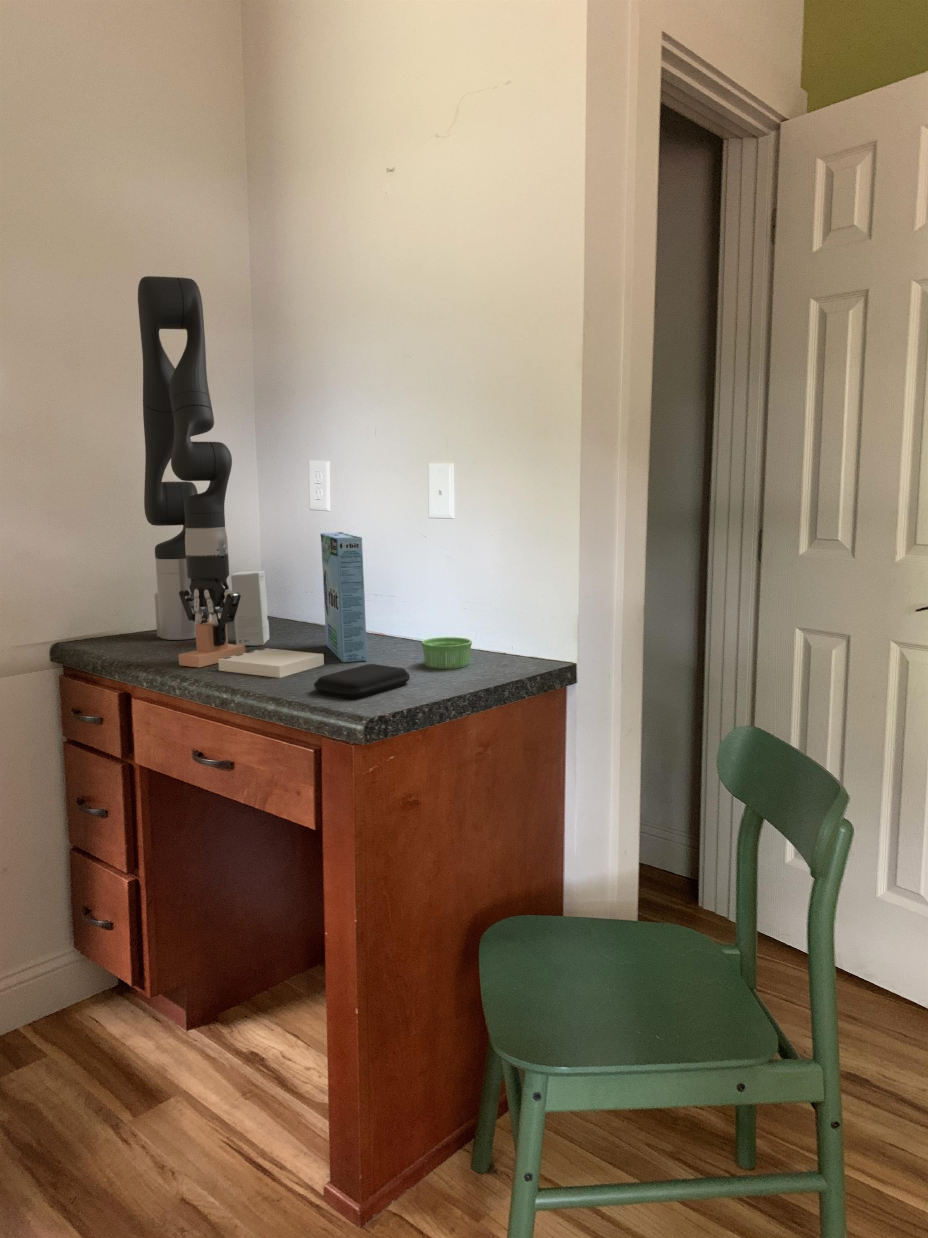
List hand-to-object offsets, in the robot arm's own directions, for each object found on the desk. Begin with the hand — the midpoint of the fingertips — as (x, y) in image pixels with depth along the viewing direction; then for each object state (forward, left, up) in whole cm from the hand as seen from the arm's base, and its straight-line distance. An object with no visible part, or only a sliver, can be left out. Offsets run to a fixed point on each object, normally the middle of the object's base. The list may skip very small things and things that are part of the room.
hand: (212, 644), depth 169 cm
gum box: (+18, +17, -3) cm, 25 cm away
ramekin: (+41, +16, -4) cm, 44 cm away
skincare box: (-7, +18, -3) cm, 20 cm away
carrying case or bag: (+38, -6, -4) cm, 39 cm away
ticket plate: (+14, 0, -3) cm, 15 cm away
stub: (0, 0, -3) cm, 3 cm away
